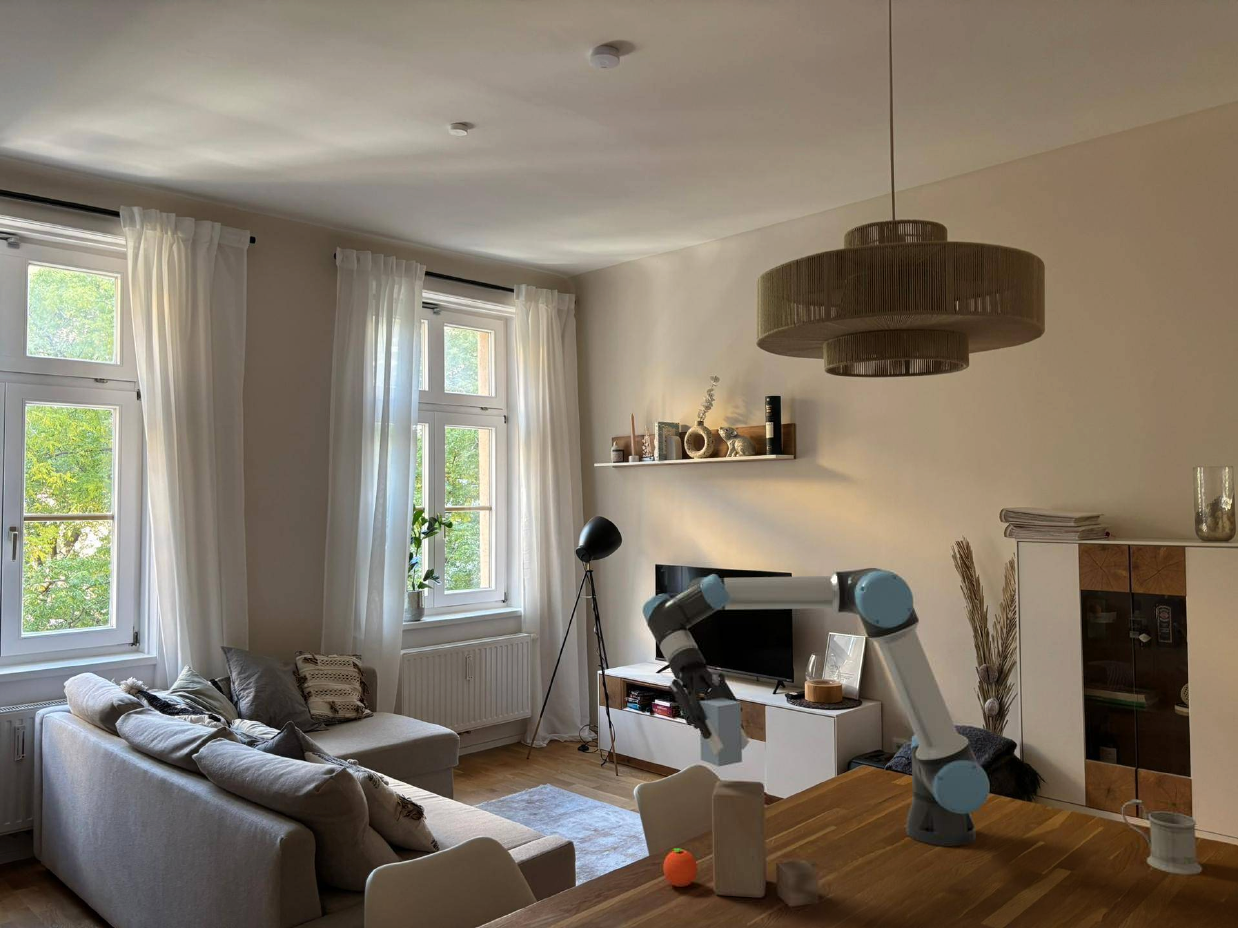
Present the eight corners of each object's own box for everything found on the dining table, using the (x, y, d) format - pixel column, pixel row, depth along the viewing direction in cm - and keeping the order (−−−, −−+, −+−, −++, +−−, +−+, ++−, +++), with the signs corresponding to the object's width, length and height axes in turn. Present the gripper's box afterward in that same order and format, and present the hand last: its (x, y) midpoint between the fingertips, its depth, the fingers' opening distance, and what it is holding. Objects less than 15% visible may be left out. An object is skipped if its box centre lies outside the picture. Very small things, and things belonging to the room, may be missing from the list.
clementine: (655, 879, 186) (655, 844, 187) (686, 874, 189) (685, 839, 189) (672, 894, 179) (671, 857, 179) (703, 888, 182) (702, 852, 182)
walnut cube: (804, 890, 180) (804, 859, 180) (818, 902, 174) (817, 871, 175) (776, 893, 179) (776, 863, 179) (789, 906, 173) (788, 874, 173)
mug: (1206, 863, 190) (1203, 805, 191) (1196, 878, 183) (1193, 817, 184) (1129, 847, 200) (1127, 792, 201) (1117, 860, 193) (1114, 803, 193)
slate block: (723, 755, 190) (722, 697, 191) (741, 761, 185) (740, 702, 186) (700, 759, 187) (699, 701, 188) (718, 766, 182) (717, 706, 183)
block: (764, 899, 176) (762, 795, 177) (713, 896, 178) (711, 793, 179) (766, 879, 186) (764, 780, 187) (718, 876, 188) (715, 778, 189)
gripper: (710, 662, 205) (759, 751, 190) (640, 671, 195) (687, 765, 180) (724, 641, 201) (776, 730, 186) (654, 649, 191) (702, 744, 176)
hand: (732, 747), depth 183 cm, fingers closed on slate block, 6 cm apart
